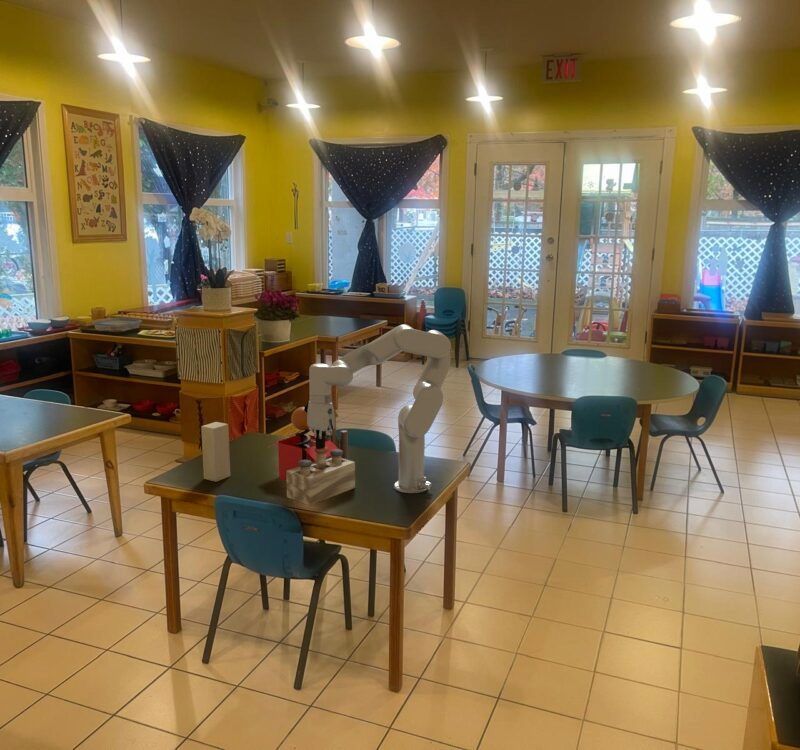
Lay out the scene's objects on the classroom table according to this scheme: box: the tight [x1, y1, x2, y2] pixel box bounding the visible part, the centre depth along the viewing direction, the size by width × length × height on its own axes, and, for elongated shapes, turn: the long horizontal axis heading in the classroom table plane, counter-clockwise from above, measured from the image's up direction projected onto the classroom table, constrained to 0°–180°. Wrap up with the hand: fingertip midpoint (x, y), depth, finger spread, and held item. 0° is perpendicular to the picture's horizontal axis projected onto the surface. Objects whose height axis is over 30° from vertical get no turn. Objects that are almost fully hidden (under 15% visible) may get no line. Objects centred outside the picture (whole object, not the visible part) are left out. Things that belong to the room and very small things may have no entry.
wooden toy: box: [325, 407, 349, 460], centre depth 296 cm, size 16×7×25 cm, turn 160°
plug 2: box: [330, 449, 343, 464], centre depth 273 cm, size 5×5×9 cm
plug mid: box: [315, 446, 327, 470], centre depth 266 cm, size 5×5×9 cm
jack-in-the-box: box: [266, 401, 338, 482], centre depth 282 cm, size 26×16×30 cm, turn 55°
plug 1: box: [298, 460, 312, 476], centre depth 261 cm, size 5×5×9 cm
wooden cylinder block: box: [286, 456, 356, 506], centre depth 268 cm, size 12×23×10 cm, turn 141°
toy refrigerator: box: [200, 421, 231, 482], centre depth 281 cm, size 8×7×21 cm
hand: (320, 447), depth 265 cm, fingers closed
